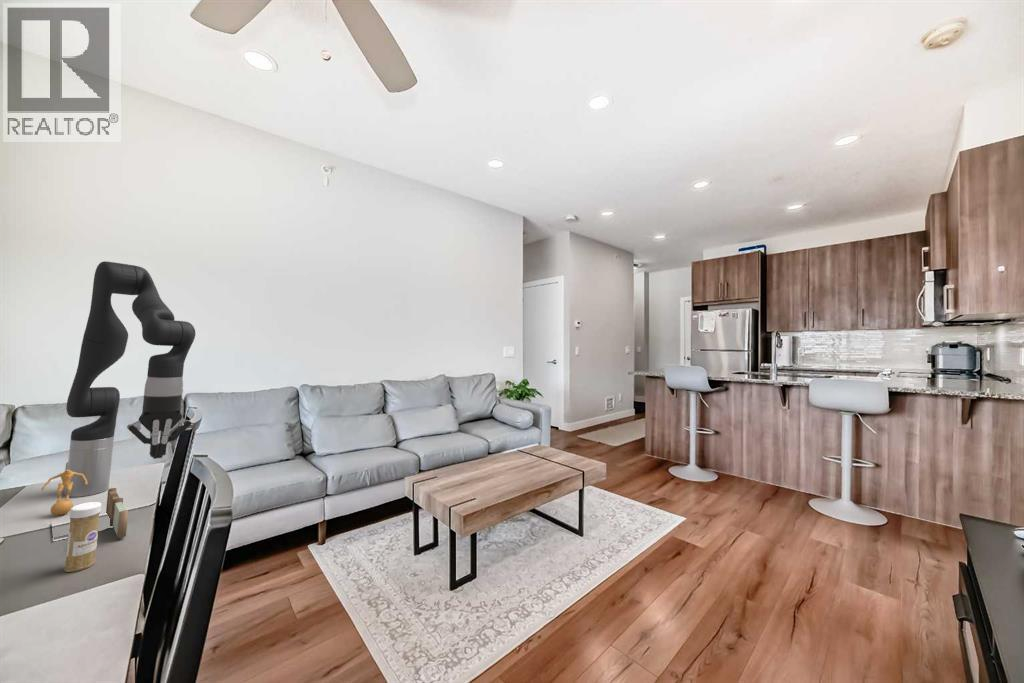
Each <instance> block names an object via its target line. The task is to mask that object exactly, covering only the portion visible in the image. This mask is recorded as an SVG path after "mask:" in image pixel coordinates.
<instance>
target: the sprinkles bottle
mask: <svg viewBox="0 0 1024 683" xmlns="http://www.w3.org/2000/svg"><path fill="white" fill-rule="evenodd" d="M101 511H102V503H101V502H98V501H89V502H83V503H80V504H76V505H73V507H72V508H71V509H70V511H69V520H70V526H69V532H68V539H66V540H67V541H66V550H65V558H66V559H65V566H64V567H63V571H65V572H67V573H71V572H72V573H74V572H78V571H82V570H85V569H87V568H90V567H92V566H93V565H94V564H95V562H96V558H95V557H96V550H97V544H98V537H99V536H98V533H99V532H98V522H99V514H100V513H101Z"/></svg>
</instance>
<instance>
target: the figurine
mask: <svg viewBox="0 0 1024 683" xmlns="http://www.w3.org/2000/svg"><path fill="white" fill-rule="evenodd" d="M73 475H77V476H82V478H83V479H84V481H85V483H86V485H87V484H88V482H87V480H86V478H85V476H84V475H83V474H80V473H76V472H72V471H71V470H64V471H63V472H62V473H59V474H57V475H54V476H52V477H50V478H49V479H48V480H47V481H46V482H45V484H43V486H42V488H41V491H44V489H46V486H48V484H50V482H51V481H52V480H54V479H57V478H61V482H60V483H58V484H57V486H58V487H57V495H58V498H57V500H56V502H55V503H53V505H51V507H50V513H51V514H52V515H54V516H63V514H64V515H66V514H68V513H70V509H71V508H72V507H74V502H72V501H71V500H69V499H70V497H69V494H70V493H71V492H70V490H71V489H72V485H73V482H70V480H71V478H72V477H73ZM85 483H84V484H85ZM64 486H66V489H67V490H68V492H67V496H65V499H62V494H63V492H62V491H63V488H64Z"/></svg>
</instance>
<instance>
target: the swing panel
mask: <svg viewBox="0 0 1024 683" xmlns="http://www.w3.org/2000/svg"><path fill="white" fill-rule="evenodd" d="M128 520H129V509H127V508H126V507H125V505H124V502H123V503H122V502H118V503H115V510H114V520H113V527H114V528H113V529H114V532H115V533H116V539H122V538H125V537H126V536H127V531H128V529H127V528H128Z"/></svg>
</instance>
